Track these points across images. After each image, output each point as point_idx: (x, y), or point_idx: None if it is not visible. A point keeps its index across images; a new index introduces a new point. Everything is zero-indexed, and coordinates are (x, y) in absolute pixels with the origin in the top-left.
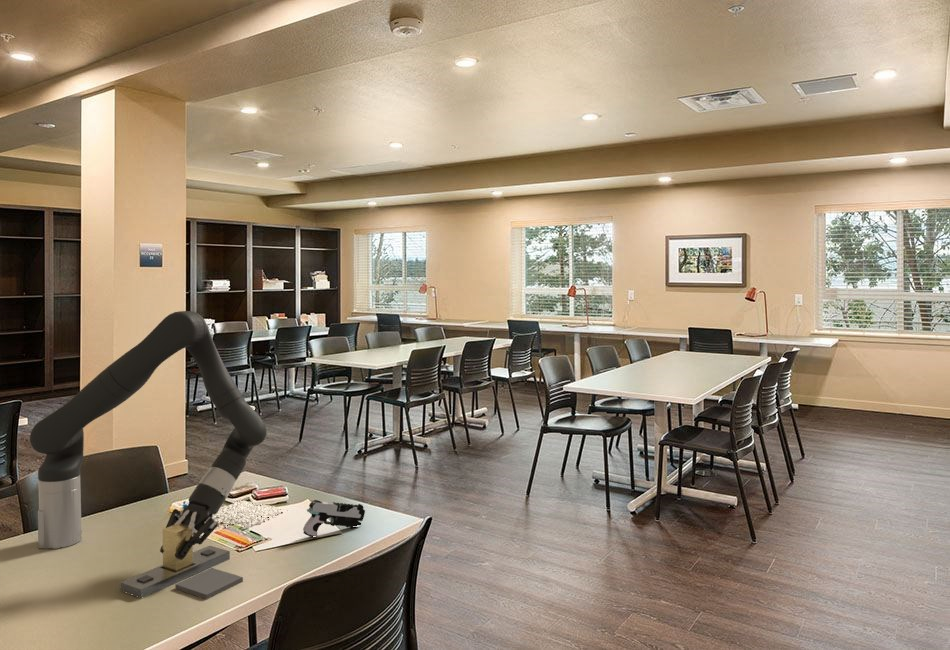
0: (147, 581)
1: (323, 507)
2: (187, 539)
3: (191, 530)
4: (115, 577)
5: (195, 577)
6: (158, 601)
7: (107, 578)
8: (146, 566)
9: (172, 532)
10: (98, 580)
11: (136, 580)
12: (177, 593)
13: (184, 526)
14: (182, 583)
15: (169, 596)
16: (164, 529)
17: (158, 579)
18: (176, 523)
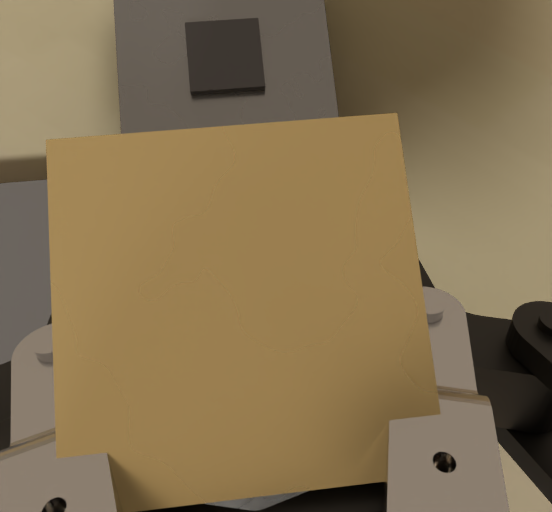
0: (185, 52)
1: None
2: (44, 336)
3: (15, 444)
4: (513, 75)
5: (34, 318)
6: (12, 42)
7: (534, 43)
8: (528, 267)
9: (130, 134)
10: (545, 3)
11: (258, 22)
12: (6, 159)
13: (204, 431)
14: (29, 211)
15: (13, 110)
16: (357, 124)
17: (153, 109)
18: (462, 421)
